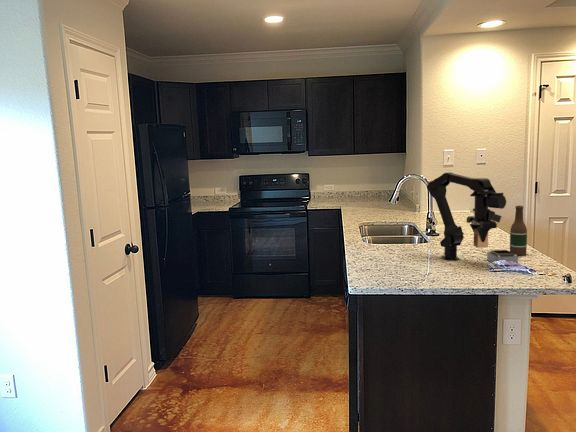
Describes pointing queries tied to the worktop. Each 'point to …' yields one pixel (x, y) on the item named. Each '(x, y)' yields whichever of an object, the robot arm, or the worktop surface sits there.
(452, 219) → the robot arm
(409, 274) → the worktop surface
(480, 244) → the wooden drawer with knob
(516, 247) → the beer bottle
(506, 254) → the drawer cabinet
